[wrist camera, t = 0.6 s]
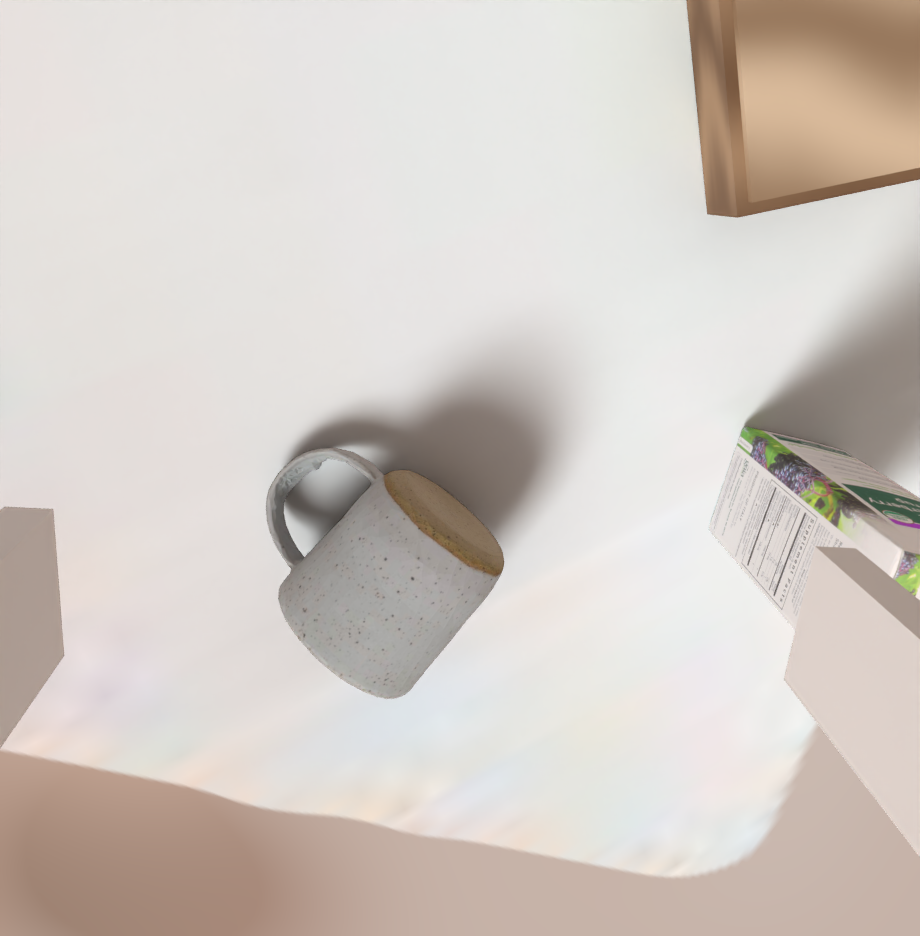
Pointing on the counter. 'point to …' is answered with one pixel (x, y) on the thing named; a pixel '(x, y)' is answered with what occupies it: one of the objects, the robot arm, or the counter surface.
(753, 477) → the syrup box
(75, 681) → the counter surface
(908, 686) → the robot arm
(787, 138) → the walnut plinth
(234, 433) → the counter surface
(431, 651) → the ceramic mug
